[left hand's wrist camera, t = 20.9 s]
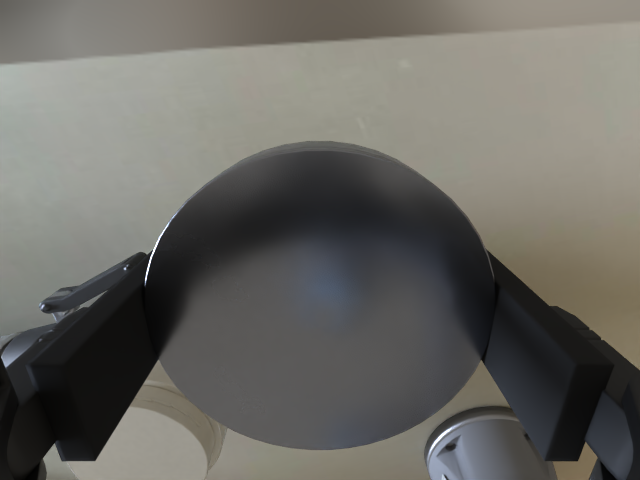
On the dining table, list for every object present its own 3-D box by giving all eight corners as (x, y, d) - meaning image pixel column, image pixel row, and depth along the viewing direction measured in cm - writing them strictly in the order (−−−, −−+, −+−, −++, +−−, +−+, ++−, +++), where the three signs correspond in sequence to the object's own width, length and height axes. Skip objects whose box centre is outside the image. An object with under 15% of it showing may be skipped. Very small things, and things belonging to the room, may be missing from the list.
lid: (286, 443, 15) (282, 489, 13) (103, 258, 12) (65, 285, 10) (518, 328, 13) (550, 364, 11) (371, 64, 9) (382, 56, 8)
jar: (210, 238, 36) (103, 372, 18) (280, 289, 39) (245, 453, 21) (164, 297, 39) (29, 466, 21) (232, 342, 41) (163, 530, 23)
